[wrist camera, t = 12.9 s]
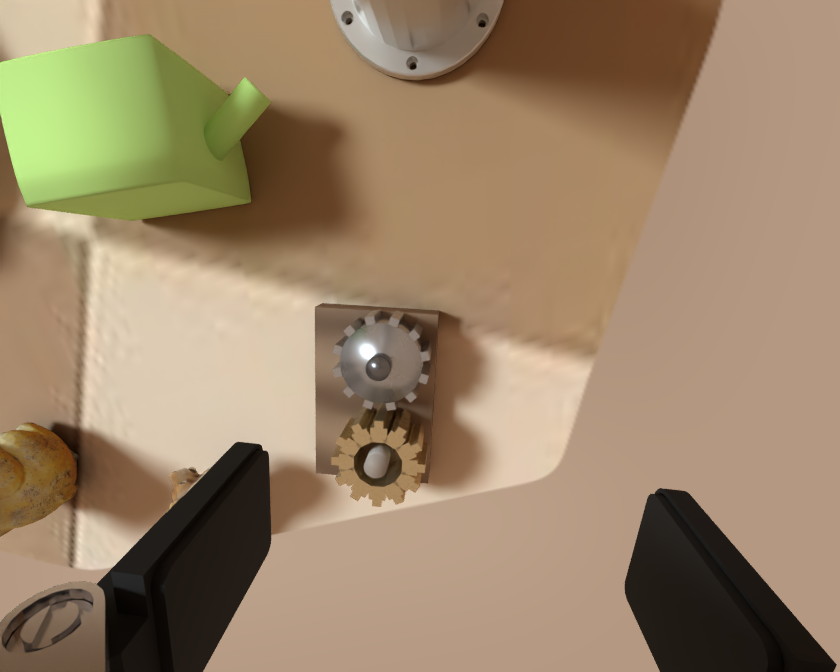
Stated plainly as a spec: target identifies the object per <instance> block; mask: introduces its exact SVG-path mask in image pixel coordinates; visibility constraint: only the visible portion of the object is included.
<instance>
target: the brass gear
mask: <svg viewBox="0 0 840 672" xmlns="http://www.w3.org/2000/svg"><path fill="white" fill-rule="evenodd" d="M410 416H411V412H409V411H408V410H406V409H405V408H404V410H403V411H402V413H401V414H400V413H399V412H397V413H396V415H395V416H394V411H392V410H389V411H387V408H386V404H385V403H382V405H381V407H380V409H378V411H377V413H376V412H375V410H374V411H372V412H371V410H370V409H368V408H365V407H364V408H362V409H361V410H360V412H359V413H358V415H357V417H356V419H355V420H354V419H352V418H350V420H349V421H348V423H347V424H346V426H345V428H344V429H343V431H342V433H341V434H340V436H339V438H338V440H337V441H336V444H337V445H338V446H337V448H336V449H335V451H334V453H333V455H332V456H331V465H338V466H339V469H340V470H339V472H338V474H337V476H336V478H335V479H336V481H337V482H338V484H339V486H341V485H343V484H345V483H346V484H347V486H350V485H352V484H353V485H352V487H351V490H353V491H352V494H351V496H350V497H352V498H353V499H355V500H357V501H358V500H359V499H360V497H361V496H363V497H364V498H365V497H366V495H367V494H368V493H369V499H373V501H372V506H377V507H381V505H382V501H383V500H384V501H385V499H386V496H387V497H388V499H389V500H390V499H393V500H394V502H395V504H399V503H401V502H404V497H405V492H407V491H408V489H410V490H411V491H413V492H416V491H417V490H418V488H419V487H420V482H421V475H422V473H425V467H426V459H427V451H428V443H423V440H424V433H425V429H424V427H423V426H422V424H418V425H416V426H415V425H414V423H412V424H410V421H411V420H410ZM371 442H376V443H385V444H387V445H389V446H390V447H392V448H393V449H395V450H396V451H397V453H398V455H399V456H400V458H401V459H400V460H398V461H396V462H393V463H391V464H388V468H387V471H386V473H385V475H384V476H382V477H380V478H372V477H370V476H368V475H367V474H366V473H365V471H364V463H365V461H366V458H367V456H368V454H367V453H366V451H365V449H364V447H363V446H364V445H367V444H369V443H371Z"/></svg>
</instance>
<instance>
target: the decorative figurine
mask: <svg viewBox="0 0 840 672" xmlns="http://www.w3.org/2000/svg"><path fill="white" fill-rule="evenodd" d="M77 459H78V454H76V453H75V452H73V451H71V450H70V449H69V448H68V446H67V445H66V444H65V443H64V442H63V441H62V440H61V438H59V437H58V436H57V435H56V434H55V433H53V432H52V431H50V430H48V429H46V428H44V427H41V426H39V425H37V424H34V423H24V424H21V425H20V426H19V427H17V428H16V430H12V431H8V432H4V433H2V434H0V537H1V536H2V535H4V534H6V533H7V532H9V531H11V530H12V529H14V528H18V527H22V526H25V525H28V524H31V523H34V522H36V521H38V520H40V519H42V518H44V517H46V516H47V515H49V514H50V513H52V512H53V511H55V510H56V509H57V508H58V507H59V506H61V505H62V504H63V503H64V502H66V501H68V500H70V499H71V498H73V497H74V496H75V495H76V493H77V489H78V486H77V484H76V482H75V481H76V479H77V462H76V461H77Z"/></svg>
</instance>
